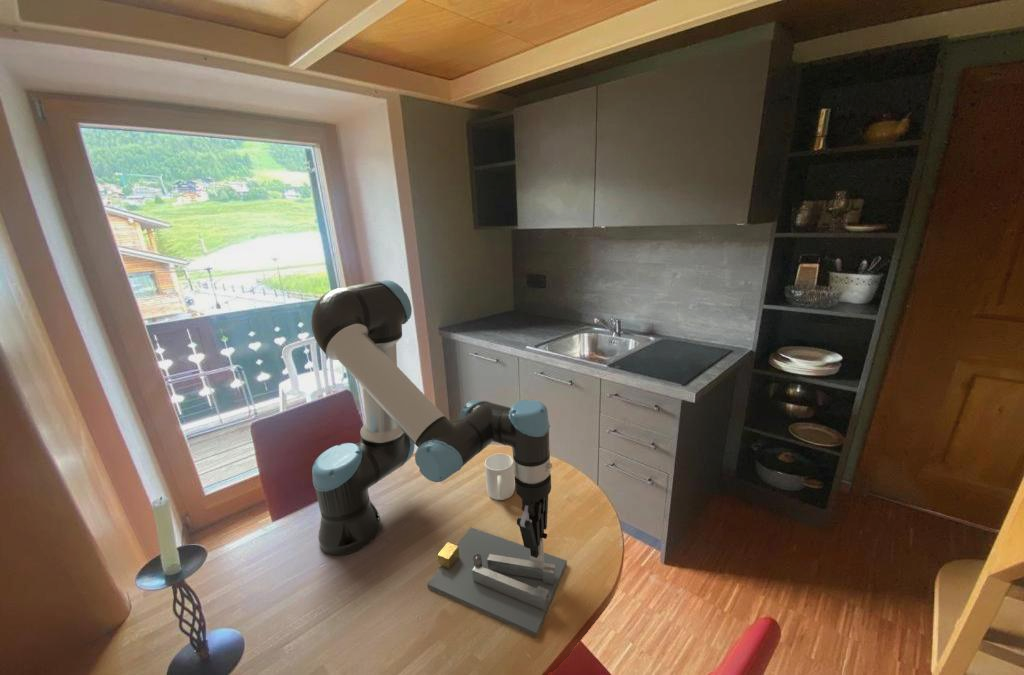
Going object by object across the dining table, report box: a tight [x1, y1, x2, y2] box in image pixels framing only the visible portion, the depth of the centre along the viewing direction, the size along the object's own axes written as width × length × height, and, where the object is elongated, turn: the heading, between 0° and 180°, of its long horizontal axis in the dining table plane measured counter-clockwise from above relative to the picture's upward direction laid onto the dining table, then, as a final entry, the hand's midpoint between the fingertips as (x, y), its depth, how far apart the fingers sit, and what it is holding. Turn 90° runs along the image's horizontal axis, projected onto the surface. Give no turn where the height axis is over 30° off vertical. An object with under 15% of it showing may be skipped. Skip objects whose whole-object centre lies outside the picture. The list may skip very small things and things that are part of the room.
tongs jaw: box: [487, 554, 555, 584], centre depth 86 cm, size 15×2×3 cm, turn 76°
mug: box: [484, 452, 516, 501], centre depth 112 cm, size 12×8×10 cm
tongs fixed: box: [472, 554, 549, 611], centre depth 83 cm, size 18×3×4 cm, turn 64°
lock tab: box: [437, 541, 459, 569], centre depth 91 cm, size 3×4×3 cm
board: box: [426, 526, 568, 638], centre depth 88 cm, size 26×18×1 cm
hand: (537, 563), depth 87 cm, fingers closed
